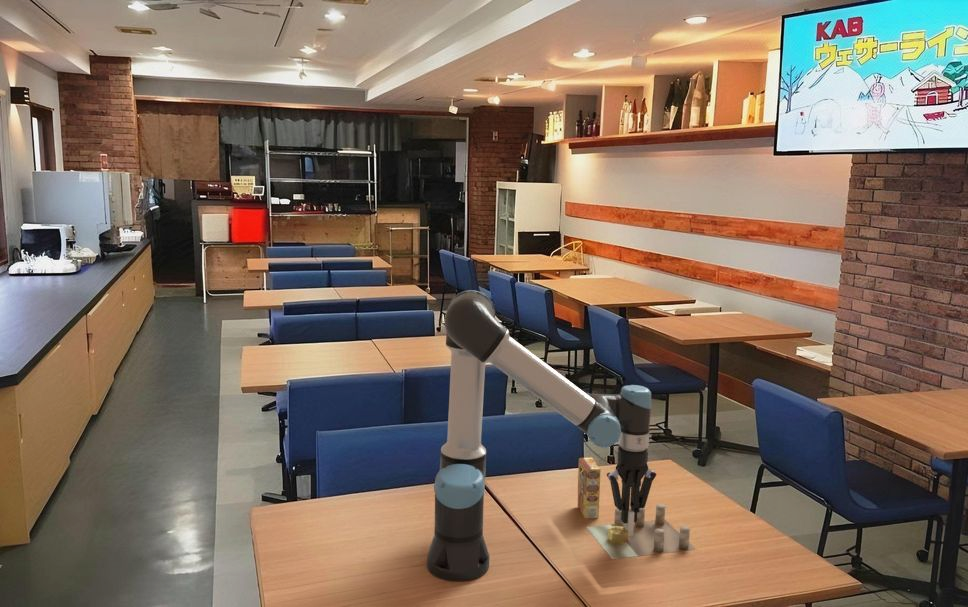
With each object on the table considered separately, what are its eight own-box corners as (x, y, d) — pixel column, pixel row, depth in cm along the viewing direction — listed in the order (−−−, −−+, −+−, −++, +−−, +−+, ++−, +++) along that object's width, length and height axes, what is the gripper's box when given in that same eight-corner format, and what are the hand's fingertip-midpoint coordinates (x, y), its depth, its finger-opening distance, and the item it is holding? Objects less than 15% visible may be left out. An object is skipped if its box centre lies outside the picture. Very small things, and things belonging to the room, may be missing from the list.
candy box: (599, 522, 202) (601, 469, 199) (584, 522, 201) (586, 469, 199) (590, 507, 210) (592, 456, 208) (575, 508, 210) (578, 457, 207)
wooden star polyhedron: (613, 546, 186) (614, 535, 186) (605, 536, 191) (606, 526, 191) (629, 544, 187) (630, 534, 187) (621, 534, 192) (621, 524, 192)
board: (611, 563, 180) (613, 539, 179) (585, 531, 196) (586, 509, 195) (696, 553, 186) (698, 530, 185) (664, 523, 202) (665, 502, 201)
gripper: (615, 453, 181) (610, 543, 185) (663, 450, 184) (657, 538, 188) (603, 443, 188) (598, 529, 192) (650, 439, 191) (644, 524, 195)
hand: (628, 533), depth 190 cm, fingers closed
